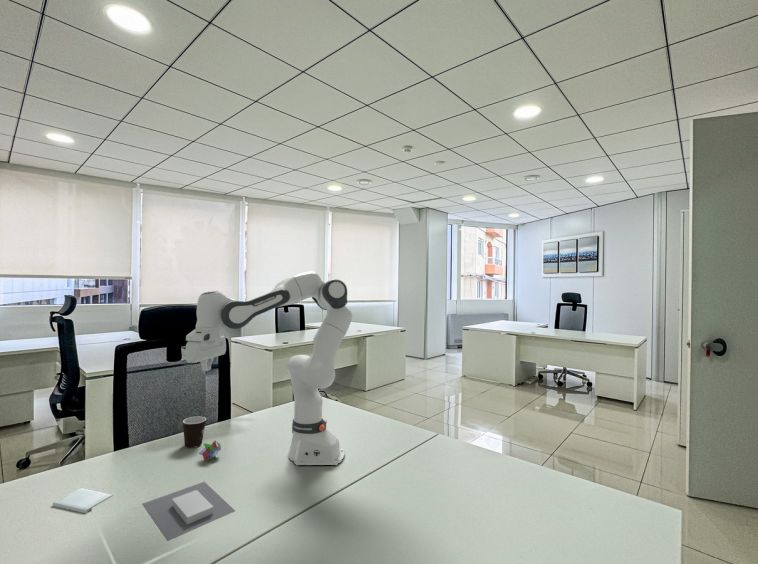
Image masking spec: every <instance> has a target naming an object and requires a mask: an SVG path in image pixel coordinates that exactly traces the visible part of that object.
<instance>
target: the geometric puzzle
mask: <svg viewBox="0 0 758 564" xmlns="http://www.w3.org/2000/svg"><path fill="white" fill-rule="evenodd" d="M221 446H222V445H221V444H220V443H219V442H218V441H216V440H213V441H211V443H210V444H209V443H205V442H203V445H202V448H201V449H200V452H199V453H198V454H199V455H201V456H202V459H203V462H207V461H210V459H212V460H213V459H217V458H218V456H217V455H218V453H219V452H221V449H222V447H221Z"/></svg>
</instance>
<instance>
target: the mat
mask: <svg viewBox="0 0 758 564" xmlns="http://www.w3.org/2000/svg"><path fill="white" fill-rule="evenodd" d="M195 490H197V491H198V492H199V493H200V494H201V495H202V496H203V497H204V498H205V499H206V500H207V501H208V502H209V503H210V504H211V505H212V506H213V514H211V515H209V516H207V517H204V518H202V519H200V520H197V521H195V522H192V523H190V524H188V525H187V524H186V523H185V522H184V520H183V519H182V518H181V517H180V515H179V514H178V513H177V512H176V510H175V509H174V508H173V507H172V499H173V498H176V497H179V496H181V495H184V494H187V493H189V492H192V491H195ZM141 505H142V506H143V507H144V509H145V510H146V511H147V514H148V515H149V517H151V519H152V520H153V522H154V523H155V525H156V527H157V528H158V529H159V531H160V532H161V533H162V535H163V537H164V538H165V540H166V541H171V540H173V539H176V538H178V537H179V536H180V537H181V536H182V535H184V534H186V533H189V532H190V531H193V530H196V529H197V528H200V527H202V526H205V525H206V524H210V523H211V522H213V521H215V520H218V519H220V518H223V517H225V516H228V515H229V514H232V513H234V512H236V510H235V509H234V508H233V507H232V506H231V505H230V504H229V503H228V502H227V501H225V499H224V498H223V497H221V496H220V495H219V494H218V493H217V492H216V491H215V490H214V489H213V488H212V487H211V486H210V485H208V483H207V482H206V481H203V482H202V481H201V482H200V483H196V484H193V485H191V486H188V487H186V488H183V489H180V490H177V491H174V492H170V493H168V494H166V495H162V496H160V497H157V498H154V499H151V500H149V501H146V502H143V503H142V504H141Z"/></svg>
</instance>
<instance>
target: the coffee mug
mask: <svg viewBox="0 0 758 564" xmlns="http://www.w3.org/2000/svg"><path fill="white" fill-rule="evenodd" d="M206 423H207V418H206V417H205V416H190V417H187V418H185V419H183V420H182V426H183V427H182V428H183V437H184V438H183V441H184V447H185V448H188V449H192V448H193V449H194V448H197V447H200V446H201V445H202V444H203V440H204V439H203V438H204V435H205V428H206Z"/></svg>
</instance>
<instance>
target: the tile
mask: <svg viewBox="0 0 758 564" xmlns="http://www.w3.org/2000/svg"><path fill="white" fill-rule="evenodd" d="M172 507H173V508H174V509H175V510H176V512H177V513H178V514H179V515H180V517H181V518H182V519H183V520H184V522H185V523H186V524H187V525H188V524H190V523H192V522H195V521H197V520H200V519H202V518H204V517H207V516H209V515H211V514H213V506H212V505H211V504H210V503H209V502H208V501H207V500H206V499H205V498H204V497H203V496H202V495H201V494H200V493H199V492H198V491H197V490H195V491H192V492H189V493H187V494H184V495H181V496H179V497H176V498H173V499H172Z"/></svg>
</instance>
